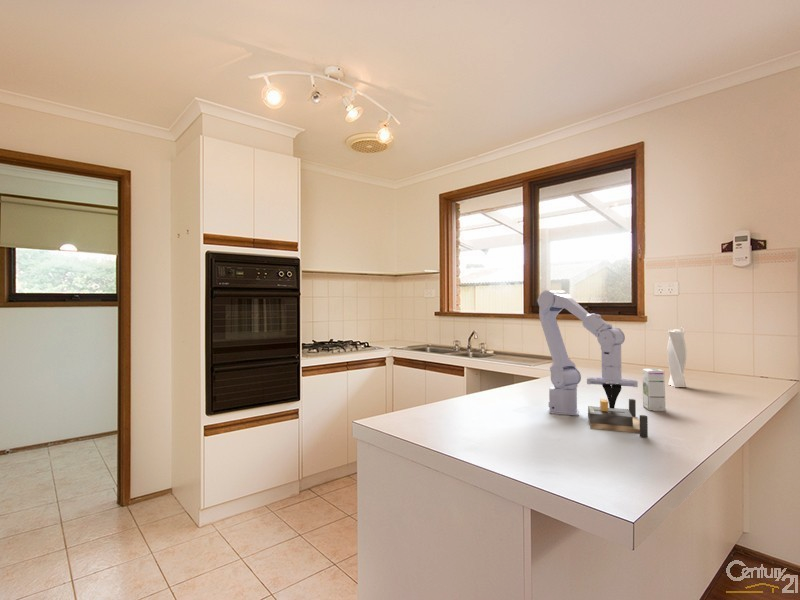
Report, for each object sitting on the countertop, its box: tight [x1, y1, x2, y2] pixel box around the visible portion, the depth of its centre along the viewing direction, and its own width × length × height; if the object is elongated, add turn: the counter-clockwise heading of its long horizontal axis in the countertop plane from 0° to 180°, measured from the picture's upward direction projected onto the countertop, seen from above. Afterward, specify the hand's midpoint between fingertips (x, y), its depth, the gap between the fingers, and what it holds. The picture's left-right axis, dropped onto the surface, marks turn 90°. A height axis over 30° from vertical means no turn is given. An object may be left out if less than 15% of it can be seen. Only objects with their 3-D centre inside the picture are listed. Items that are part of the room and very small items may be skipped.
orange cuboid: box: [599, 398, 609, 411], centre depth 135 cm, size 2×4×3 cm, turn 158°
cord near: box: [639, 414, 649, 439], centre depth 121 cm, size 2×2×6 cm
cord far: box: [628, 398, 637, 417], centre depth 142 cm, size 2×2×6 cm
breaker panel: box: [587, 405, 640, 434], centre depth 134 cm, size 15×15×4 cm
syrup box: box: [641, 368, 667, 412], centre depth 152 cm, size 6×6×14 cm
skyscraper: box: [666, 326, 687, 388], centre depth 192 cm, size 8×8×28 cm
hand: (611, 407), depth 134 cm, fingers closed
